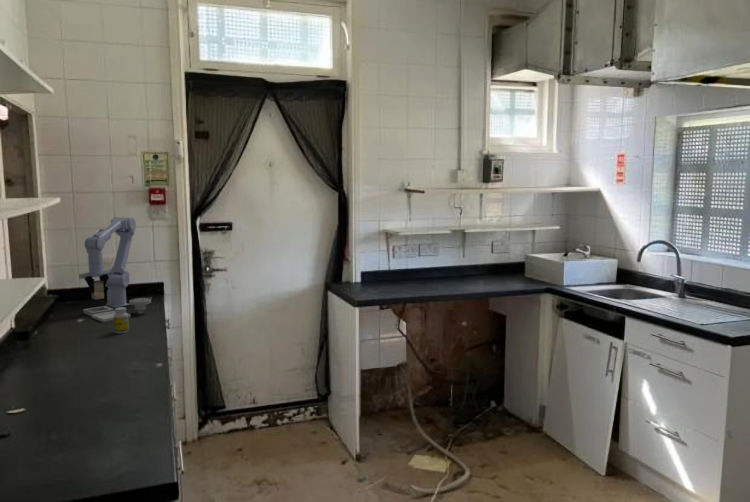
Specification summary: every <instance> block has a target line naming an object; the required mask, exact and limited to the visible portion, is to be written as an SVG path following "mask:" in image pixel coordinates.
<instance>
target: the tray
mask: <svg viewBox="0 0 750 502" xmlns="http://www.w3.org/2000/svg"><path fill="white" fill-rule="evenodd" d="M114 314H116V312H115V310H114V311H111V312H105V313H99V314H93V315H92V317H91V319H94V320H96V321H98V322H101V323H103V324H104V323H109V322H114ZM130 318H131V314H130V313H128V319H130Z"/></svg>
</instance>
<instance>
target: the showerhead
mask: <svg viewBox="0 0 750 502" xmlns="http://www.w3.org/2000/svg"><path fill="white" fill-rule="evenodd" d="M152 299H153V297H136V298H132V299H130V300H128V301H129V302H128V304H130V305H129V306H134V310H135V311H136V312H138V313H137V314H138V315H142V314H144V311H145V310H146V309H147V305H149V304H151V303H152Z"/></svg>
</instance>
